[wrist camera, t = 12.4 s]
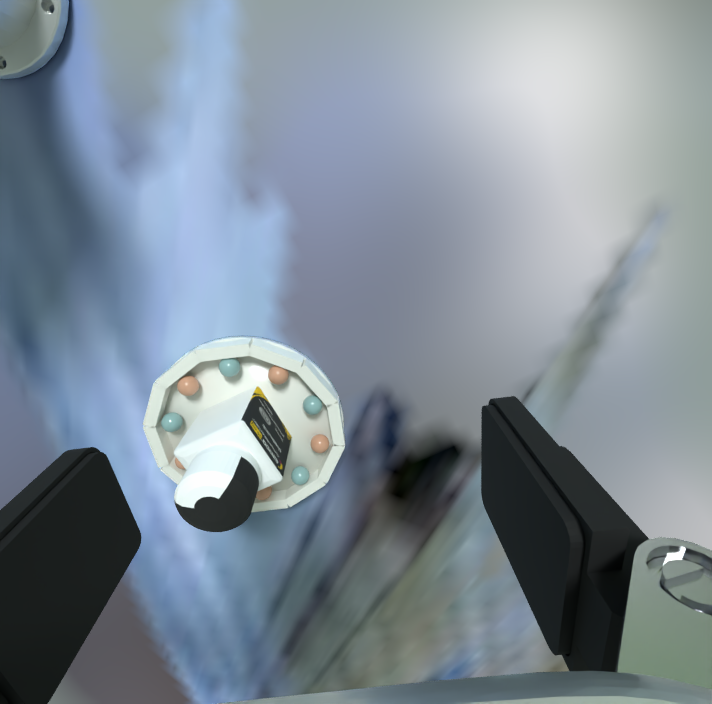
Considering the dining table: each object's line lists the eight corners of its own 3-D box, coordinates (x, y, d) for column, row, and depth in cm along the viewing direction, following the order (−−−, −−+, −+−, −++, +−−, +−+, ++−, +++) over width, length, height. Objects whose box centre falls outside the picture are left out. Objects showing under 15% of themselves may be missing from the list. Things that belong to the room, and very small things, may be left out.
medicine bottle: (293, 436, 41) (274, 524, 30) (236, 461, 42) (198, 555, 31) (258, 383, 39) (224, 457, 28) (199, 411, 40) (143, 493, 29)
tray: (130, 348, 38) (113, 360, 35) (329, 324, 38) (328, 333, 35) (187, 504, 45) (176, 524, 43) (354, 484, 45) (354, 503, 42)
